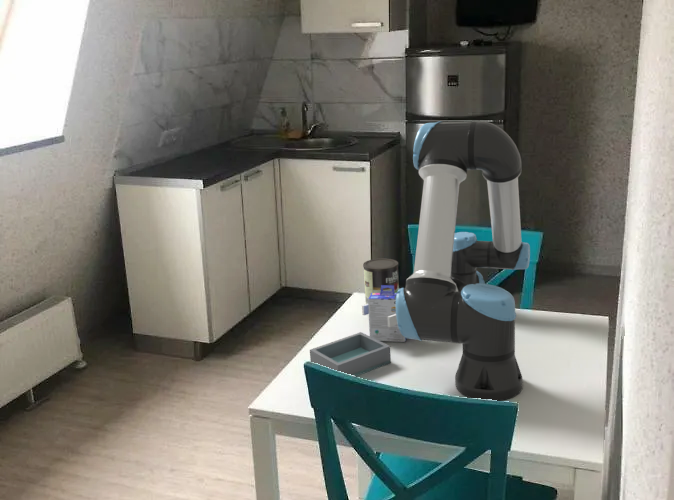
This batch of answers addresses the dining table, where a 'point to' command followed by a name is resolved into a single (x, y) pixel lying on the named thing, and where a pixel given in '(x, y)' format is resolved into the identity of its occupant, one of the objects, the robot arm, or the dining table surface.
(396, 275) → the coffee can
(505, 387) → the robot arm
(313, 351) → the walled box
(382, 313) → the ink cartridge box
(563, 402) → the dining table surface
